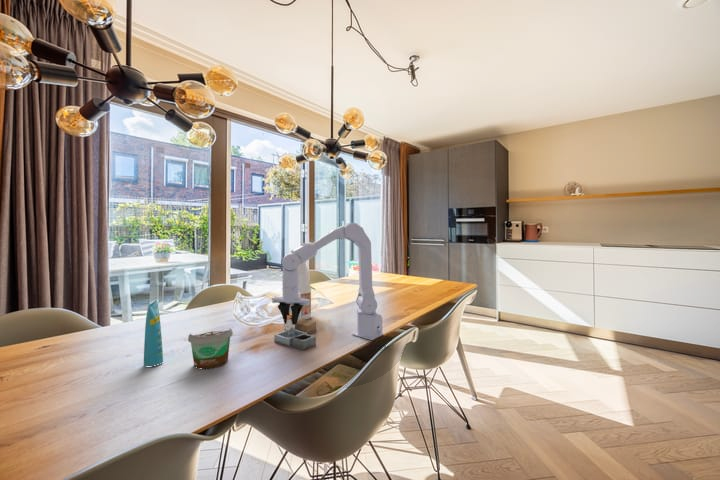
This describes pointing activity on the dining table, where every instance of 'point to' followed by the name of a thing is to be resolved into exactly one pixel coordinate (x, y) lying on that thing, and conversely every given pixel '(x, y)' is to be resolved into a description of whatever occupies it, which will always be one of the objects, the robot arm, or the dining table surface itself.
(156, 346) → the tube
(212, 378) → the dining table surface
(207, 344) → the food container
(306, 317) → the fruit juice
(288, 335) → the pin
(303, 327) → the chock
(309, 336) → the socket
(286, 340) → the tray
